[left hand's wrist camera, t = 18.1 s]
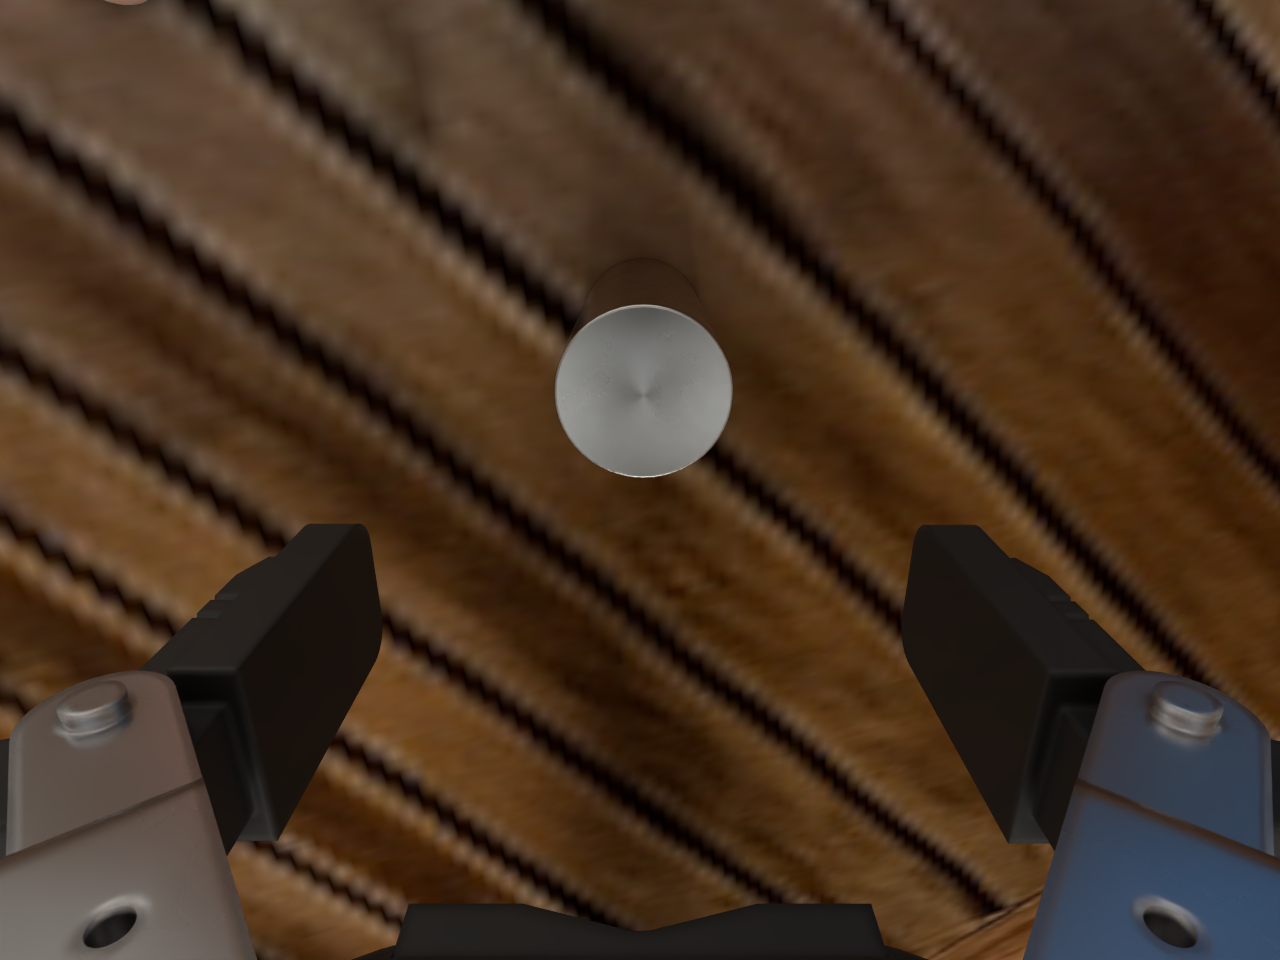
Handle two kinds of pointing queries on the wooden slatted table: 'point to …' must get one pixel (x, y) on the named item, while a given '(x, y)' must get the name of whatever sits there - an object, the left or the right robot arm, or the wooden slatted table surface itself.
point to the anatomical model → (126, 2)
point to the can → (643, 374)
